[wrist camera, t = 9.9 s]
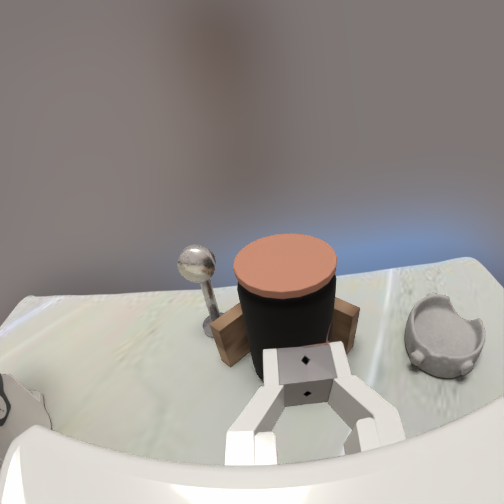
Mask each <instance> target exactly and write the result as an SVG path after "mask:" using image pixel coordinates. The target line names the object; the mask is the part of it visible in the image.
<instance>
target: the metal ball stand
mask: <svg viewBox="0 0 504 504" xmlns="http://www.w3.org/2000/svg"><path fill="white" fill-rule="evenodd" d="M215 264H216V259H215V256H214V254H213V253H212V252H211V251H210V250H209V249H207V248H206V247H204V246H201V245H191V246H188V247H186V248H185V249H184V250H183V251H182V253H181V255H180V257H179V260H178V264H177V266H178V270H179V272H180V274H181V275H182V276H183V277H184V278H185V279H187V280H189V281H192V282H200V284H201V288H202V291H203V295H204V298H205V301H206V304H207V308H208V311H209V314H210V316H209V317H207V318H206V319H205V321H204V322H203V329H204V331H205V333H206V335H207V336H209V337H211V338H214V336H213V334H212V331H211V328H210V325H209V324H210V323H212V322H213V321H215V320H216V319H217V318H219V317H220V316H222V315H223V314H224V313H219V309H218V306H217V302H216V299H215V295H214V291H213V288H212V284H211V280H210V278H211V277H212V276H213V274H214V270H215Z"/></svg>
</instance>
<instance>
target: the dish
mask: <svg viewBox="0 0 504 504" xmlns="http://www.w3.org/2000/svg"><path fill="white" fill-rule="evenodd" d="M484 342H485V328H484V326H483V322H482V320H481V319H480V318H479V319H475V320H471V321H469V320H465V319H463V318H461V317H460V316H459V315H458V314H457V313H456V312H455V310H454V308H453V306H452V304H451V302H450V299H449V297H448V296H446V295H438V294H437V293H433V292H432V293H429V294H428V295H427V296H426V297H425V298H423V299H421V300H420V301H419V302H417V303H416V304H415V306H414V307H413V309H412V311H411V313H410V315H409V317H408V320H407V324H406V329H405V345H406V349H407V352H408V354H409V358H410V361H411V363H412V364H413V365H415V366H417V367H419V368H420V369H421V370H423V371H425V372H427V373H429V374H431V375H434V376H437V377H442V378H454V377H458V376H460V375H466V374H468V373H469V372H470V371H471V370H472V369H473V367H474V362H475V361H476V359H477V358H478V356H479V354H480V352H481V350H482V348H483V345H484Z"/></svg>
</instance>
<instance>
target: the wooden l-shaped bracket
mask: <svg viewBox="0 0 504 504" xmlns="http://www.w3.org/2000/svg"><path fill="white" fill-rule="evenodd" d="M359 311H360V308H359V307H357V306H355V305H352V304H350V303H348V302H345V301H343V300H341V299H339V298H336V297H335V304H334V315H333V326H332V336H331V342H338V341H341V342H342V343H343V345H344V349H345V352H346V354H347V353H348V352H349V350H350V349H351V348H352V347H353V343H354V338H355V333H356V328H357V323H358V317H359ZM209 325H210V328H211V331H212V334H213V336H214V339H215V342H216V345H217V348H218V351H219V354H220V357H221V359H222V361H223V362H225V363H226V364H227V365H228V366H230V367H231V366H233V365H234V364H235V363H236V362H238V361H239V360H240V359H241V358H242V357H244V356H245V355H246V354H247V353H248V352H250V346H249V342H248V337H247V332H246V328H245V323H244V319H243V314H242V309H241V304H240V303H238V304H237V305H236V306H234V307H233V308H231V309H230V310H229V311H227V312H226V313H224V314H223V315H222V316H220V317H219V318H217V319H216V320H215V321H213V322H212V323H210V324H209Z"/></svg>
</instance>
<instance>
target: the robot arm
mask: <svg viewBox="0 0 504 504" xmlns="http://www.w3.org/2000/svg"><path fill="white" fill-rule="evenodd" d="M263 374H264V386H260V387H259V389H258V390H257V391H256V393H255V394H254V396H253V397H252V399H251V400H250V401H249V403H248V404H247V405H246V407H245V408H244V410H243V411H242V412H241V414H240V415H239V416H238V418H237V419H236V420H235V422H234V423H233V424H232V426H231V427H230V428H229V430H228V431H227V437H226V455H225V465H210V464H196V463H185V462H177V461H169V460H162V459H155V458H149V457H144V456H139V455H134V454H129V453H125V452H120V451H116V450H112V449H108V448H104V447H101V446H97V445H94V444H90V443H87V442H84V441H81V440H78V439H75V438H72V437H69V436H66V435H63V434H61V433H58V432H56V431H53V430H51V422H50V418H49V416H48V413H47V412H46V410H45V408H44V400H43V395H42V394H41V393H40V392H38V391H29V390H27V389H26V388H25V387H24V386H22V385H21V384H20V383H19V382H18V381H17V380H16V379H15V378H14V377H13V376H12V375H10V374H8V375H7V374H0V467H1V470H0V504H504V395H502V396H500V397H499V398H497V399H495V400H493V401H492V402H490V403H488V404H486V405H485V406H483V407H481V408H479V409H477V410H475V411H473V412H471V413H469V414H467V415H465V416H463V417H461V418H459V419H457V420H454V421H452V422H450V423H448V424H445V425H443V426H440V427H438V428H436V429H433V430H431V431H428V432H425V433H423V434H420V435H417V436H414V437H411V438H408V439H406V438H405V434H404V431H403V427H402V424H401V420H400V417H399V414H398V410H397V409H396V408H395V407H394V406H392V405H391V404H390V403H389V402H387V401H386V400H385V399H384V398H383V397H381V396H380V395H379V394H378V393H377V392H375V391H374V390H373V389H372V388H371V387H369V386H368V385H367V384H366V383H365V382H363V381H362V380H361V379H360V378H359V377H357V376H356V375H353V376H352V373H351V370H350V366H349V363H348V359H347V356H346V352H345V349H344V345H343V343H342V342H341V341H338V342H331V343H322V344H314V345H307V346H303V347H290V348H275V349H263ZM322 402H328V404H329V405H330V406H331V407H332V408H333V410H334V411H335V412H336V413H337V414H338V415H339V416H340V417H341V418H342V419H343V421H344V422H345V423H346V424H347V425H348V426H349V427H350V428H351V429H352V431H351V433H350V435H349V436H348V438H347V439H346V441H345V443H344V449H345V455H344V456H338V457H333V458H327V459H320V460H313V461H306V462H297V463H286V464H278V461H277V448H276V437H275V434H274V433H272V432H271V431H272V429H273V427H274V426H275V424H276V422H277V421H278V419H279V417H280V415H281V414H282V412H283V410H284V408H285V407H289V406H297V405H304V404H313V403H322Z"/></svg>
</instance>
